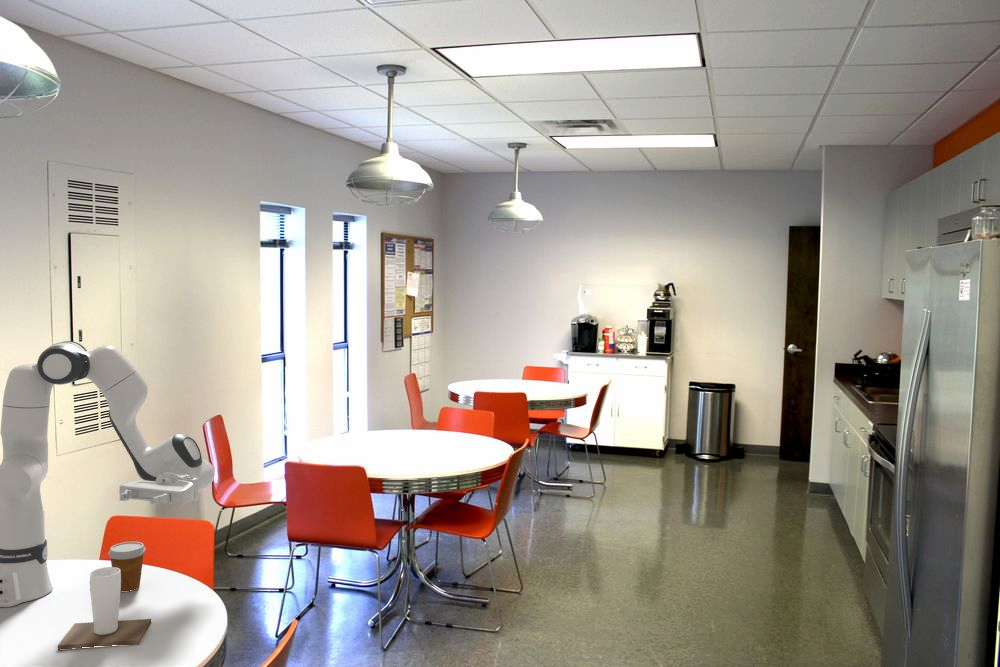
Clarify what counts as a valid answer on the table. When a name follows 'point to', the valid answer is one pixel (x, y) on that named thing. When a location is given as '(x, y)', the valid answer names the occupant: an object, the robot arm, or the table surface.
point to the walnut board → (124, 635)
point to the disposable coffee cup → (128, 563)
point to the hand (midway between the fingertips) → (137, 499)
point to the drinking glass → (105, 599)
